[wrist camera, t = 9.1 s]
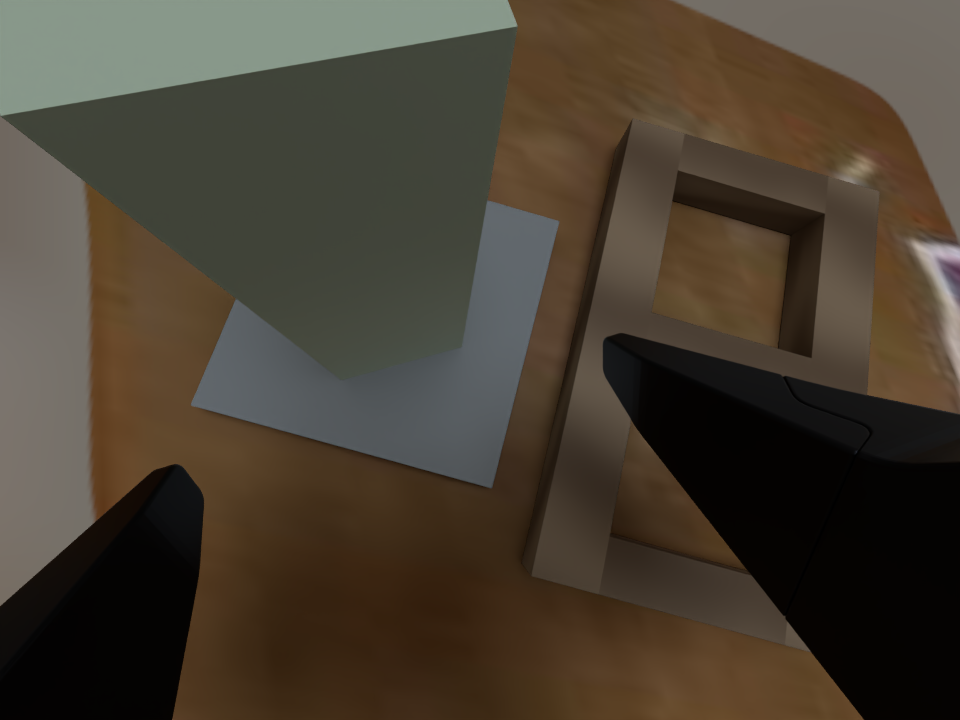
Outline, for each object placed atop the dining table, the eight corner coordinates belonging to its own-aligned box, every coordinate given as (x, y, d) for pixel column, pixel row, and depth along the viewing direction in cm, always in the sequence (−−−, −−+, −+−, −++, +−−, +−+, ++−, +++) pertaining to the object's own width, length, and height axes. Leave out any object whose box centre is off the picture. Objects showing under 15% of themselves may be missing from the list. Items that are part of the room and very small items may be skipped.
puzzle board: (806, 640, 18) (850, 663, 16) (521, 563, 18) (531, 576, 16) (841, 214, 23) (879, 191, 21) (616, 148, 22) (632, 118, 20)
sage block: (461, 346, 18) (517, 25, 5) (341, 380, 18) (0, 115, 4) (429, 239, 19) (396, -288, 6) (313, 267, 19) (-41, -260, 5)
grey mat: (489, 486, 18) (491, 488, 17) (204, 408, 18) (190, 405, 17) (553, 232, 21) (559, 221, 20) (307, 161, 21) (301, 146, 20)
